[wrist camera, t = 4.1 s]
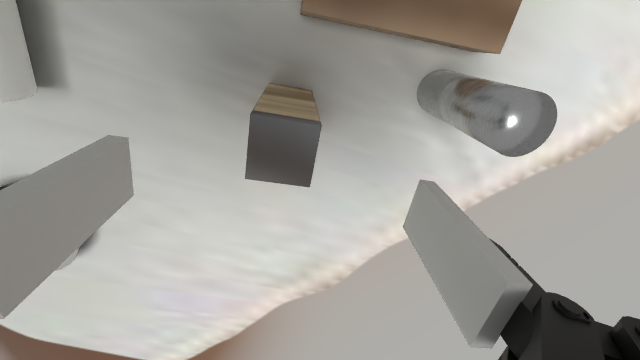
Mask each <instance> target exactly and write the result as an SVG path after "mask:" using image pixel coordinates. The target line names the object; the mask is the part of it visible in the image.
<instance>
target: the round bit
mask: <svg viewBox="0 0 640 360" xmlns="http://www.w3.org/2000/svg"><path fill="white" fill-rule="evenodd" d="M417 99H418V102H419V104H420V106H421V107H422V108H423V109H424V110H426V111H427V112H429V113H431V114H432V115H434V116H436V117H438V118H439V119H441V120H443V121H445V122H446V123H448V124H450V125H452V126H453V127H455V128H457V129H459V130H460V131H462V132H464V133H466V134H467V135H469V136H471V137H472V138H474V139H476V140H478V141H479V142H481V143H483V144H485V145H486V146H488V147H490V148H492V149H493V150H495V151H497V152H499V153H500V154H502V155H505V156H509V157H517V156H522V155H525V154H528V153H530V152H532V151H534V150H535V149H537V148H538V147H539V146H541V145H542V144H543V143H544V142H545V141H546V139H547V138H548V137H549V136H550V134H551V132H552V131H553V129H554V126H555V123H556V119H557V108H556V105H555V102H554V101H553V99H552V98H551V97H550V96H549V95H547V94H545V93H542V92H539V91H534V90H530V89H525V88H521V87H517V86H512V85H508V84H503V83H499V82H495V81H490V80H486V79H481V78H477V77H472V76H468V75H464V74H459V73H455V72H450V71H446V70H437V71H434V72H432V73H430V74H428V75H427V76H426V77H425V78H424V79H423V80H422V82H421V83H420V85H419V88H418V92H417Z"/></svg>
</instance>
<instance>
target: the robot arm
mask: <svg viewBox="0 0 640 360" xmlns="http://www.w3.org/2000/svg"><path fill="white" fill-rule="evenodd" d="M133 195H134V193H133V182H132V172H131V162H130V151H129V141H128V138H125V137H119V136H112V135H108V136H106V137H104V138H102V139H100V140H98V141H96V142H94V143H92V144H90V145H88V146H86V147H84V148H82V149H80V150H78V151H76V152H74V153H72V154H70V155H68V156H66V157H65V158H63V159H61V160H59V161H57V162H55V163H53V164H51V165H49V166H47V167H45V168H43V169H41V170H39V171H37V172H35V173H33V174H31V175H29V176H27V177H25V178H23V179H21V180H19V181H17V182H15V183H13V184H10V185H7V186H3V187H0V319H4V318H5V317H6V316H7V315H8V314H9V313H10V312H12V311H13V310H14V309H15V308H16V307H17V306H18V305H19V304H20V303H21V302H22V301H23V300H24V299H25V298H26V297H27V296H28V295H29V294H30V293H31V292H33V291H34V290H35V289H36V288H37V287H38V286H39V285H40V284H41V283H42V282H43V281H44V280H45V279H46V278H47V277H48V276H49V275H50V274H51V273H52V272H53V271H55V270H56V269H57V268H58V267H59V266H60V265H61V264H62V263H63V262H64V261H65V260H66V259H67V258H68V257H69V256H70V255H71V254H72V253H73V252H74V251H75V250H77V249H78V248H79V247H80V246H81V245H82V244H83V243H84V242H85V241H86V240H87V239H88V238H89V237H90V236H91V235H92V234H93V233H94V232H95V231H96V230H98V229H99V228H100V227H101V226H102V225H103V224H104V223H105V222H106V221H107V220H108V219H109V218H110V217H111V216H112V215H113V214H114V213H115V212H116V211H117V210H118V209H120V208H121V207H122V206H123V205H124V204H125V203H126V202H127V201H128V200H129V199H130V198H131V197H132V196H133ZM403 228H404V230H405V232H406V233H407V235H408V237H409V239H410V240H411V242H412V244H413V246H414V248H415V249H416V251H417V253H418V255H419V257H420V258H421V260H422V262H423V264H424V265H425V267H426V269H427V271H428V273H429V274H430V276H431V278H432V280H433V281H434V283H435V285H436V287H437V289H438V291H439V292H440V294H441V296H442V298H443V299H444V301H445V303H446V305H447V306H448V308H449V310H450V312H451V314H452V315H453V317H454V319H455V321H456V323H457V325H458V326H459V328H460V330H461V332H462V333H463V335H464V337H465V339H466V340H467V342H468V344H469V346H470V347H477V348H492V347H493V346H494V344H495V342H496V341H497V340H498V338H499V336H500V335H501V336H502V338H503V339H504V341H505V342H506V344H507V345H508V346H507V347H506V349H505V350H504V352H503V353H502V355H501V356H500V358H499V359H498V360H640V319H637V318H633V317H629V316H626V317H622V318H621V319H620V320H619V322H618V323H617V324H616V325H615V326H614V327H611V326H608V325H605V324H602V323H599V322H596V321H594V319H593V317H592V316H591V315H590V314H589V313H588V312H587V311H586V310H584V309H583V308H582V307H581V306H579V305H578V304H577V303H575V302H573V301H572V300H570V299H568V298H566V297H564V296H561V295H559V294H556V293H550V292H547V293H546V292H545V291H544V290H543V289H542V288H541V287H540V286H539V285H538V284H537V283H536V282H535V281H534V280H533V279H532V278H531V276H529V274H528V273H527V272H526V271H524V269H523V268H522V267H521V266H518V263H517V262H516V261H515V260H514V259H513V258H511V256H510V255H509V254H508V253H507V252H506V251H505V250H504V249H503V248H502V247H501V246H500V245H498V244H497V243H495V242H494V241H492V240H491V239H489V238H488V237H487V236H486V235H485V234H484V233H483V232H482V231H481V230H480V229H479V228H478V227H477V226H476V225H475V224H474V223H473V221H472V220H470V218H469V217H468V216H467V215H466V214H465V213H464V212H463V211H462V210H461V209H460V208H459V207H458V206H457V205H456V204H455V203H454V202H453V200H452V199H451V198H450V197H449V196H448V195H447V194H446V193H445V192H444V191H443V190H442V189H441V188H440V187H439V186H438V185H437V184H436V183H435V182H433V181H426V180H420V181H419V184H418V186H417V189H416V192H415V195H414V197H413V200H412V203H411V206H410V208H409V211H408V214H407V217H406V220H405V222H404V225H403Z"/></svg>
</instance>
